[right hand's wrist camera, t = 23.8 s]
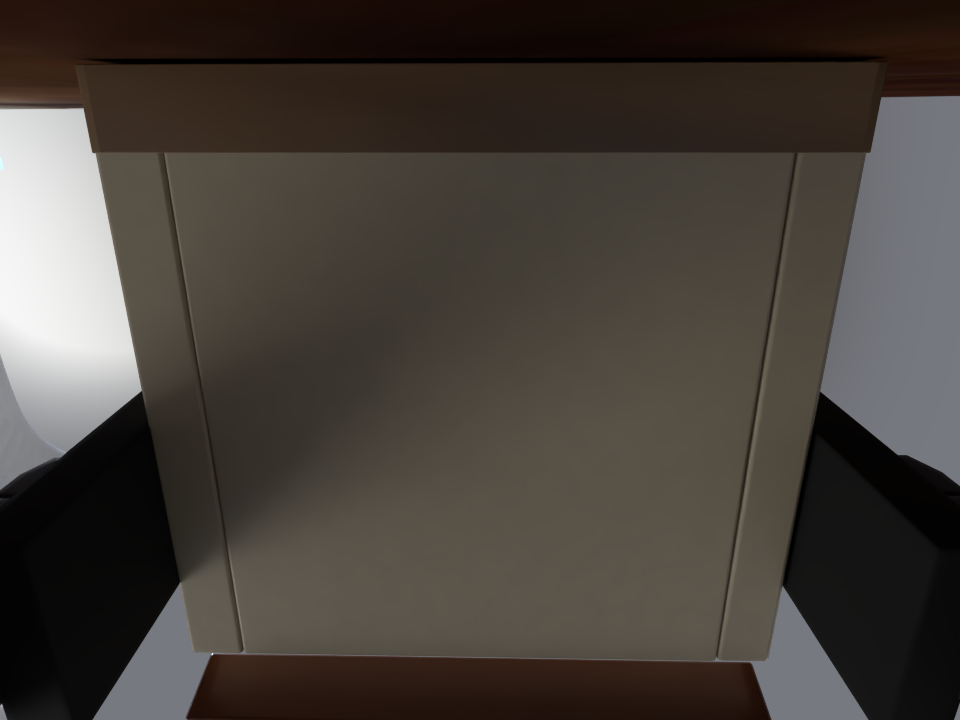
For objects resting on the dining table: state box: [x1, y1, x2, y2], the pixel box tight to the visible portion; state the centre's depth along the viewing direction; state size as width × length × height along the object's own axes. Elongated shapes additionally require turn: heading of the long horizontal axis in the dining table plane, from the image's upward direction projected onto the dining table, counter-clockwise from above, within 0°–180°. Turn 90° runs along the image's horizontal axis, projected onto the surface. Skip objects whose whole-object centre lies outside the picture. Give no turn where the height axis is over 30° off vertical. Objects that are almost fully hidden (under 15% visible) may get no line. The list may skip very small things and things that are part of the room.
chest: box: [75, 61, 888, 661], centre depth 15 cm, size 13×9×9 cm
